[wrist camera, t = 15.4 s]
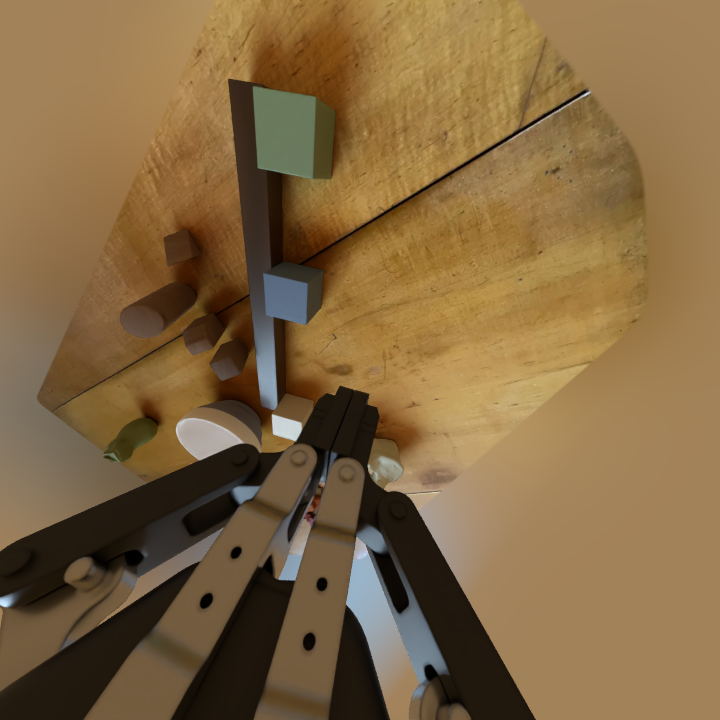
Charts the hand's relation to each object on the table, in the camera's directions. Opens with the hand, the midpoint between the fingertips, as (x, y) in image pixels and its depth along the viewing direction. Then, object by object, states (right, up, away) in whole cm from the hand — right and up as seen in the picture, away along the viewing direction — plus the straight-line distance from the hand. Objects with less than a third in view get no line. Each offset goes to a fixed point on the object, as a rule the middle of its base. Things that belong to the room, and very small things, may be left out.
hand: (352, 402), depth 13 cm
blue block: (-7, +11, +20) cm, 24 cm away
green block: (-5, +23, +12) cm, 26 cm away
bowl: (-23, -9, +38) cm, 45 cm away
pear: (-47, -12, +46) cm, 67 cm away
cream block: (-10, -6, +33) cm, 35 cm away
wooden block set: (-21, +10, +25) cm, 34 cm away
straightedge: (-11, +11, +21) cm, 26 cm away
